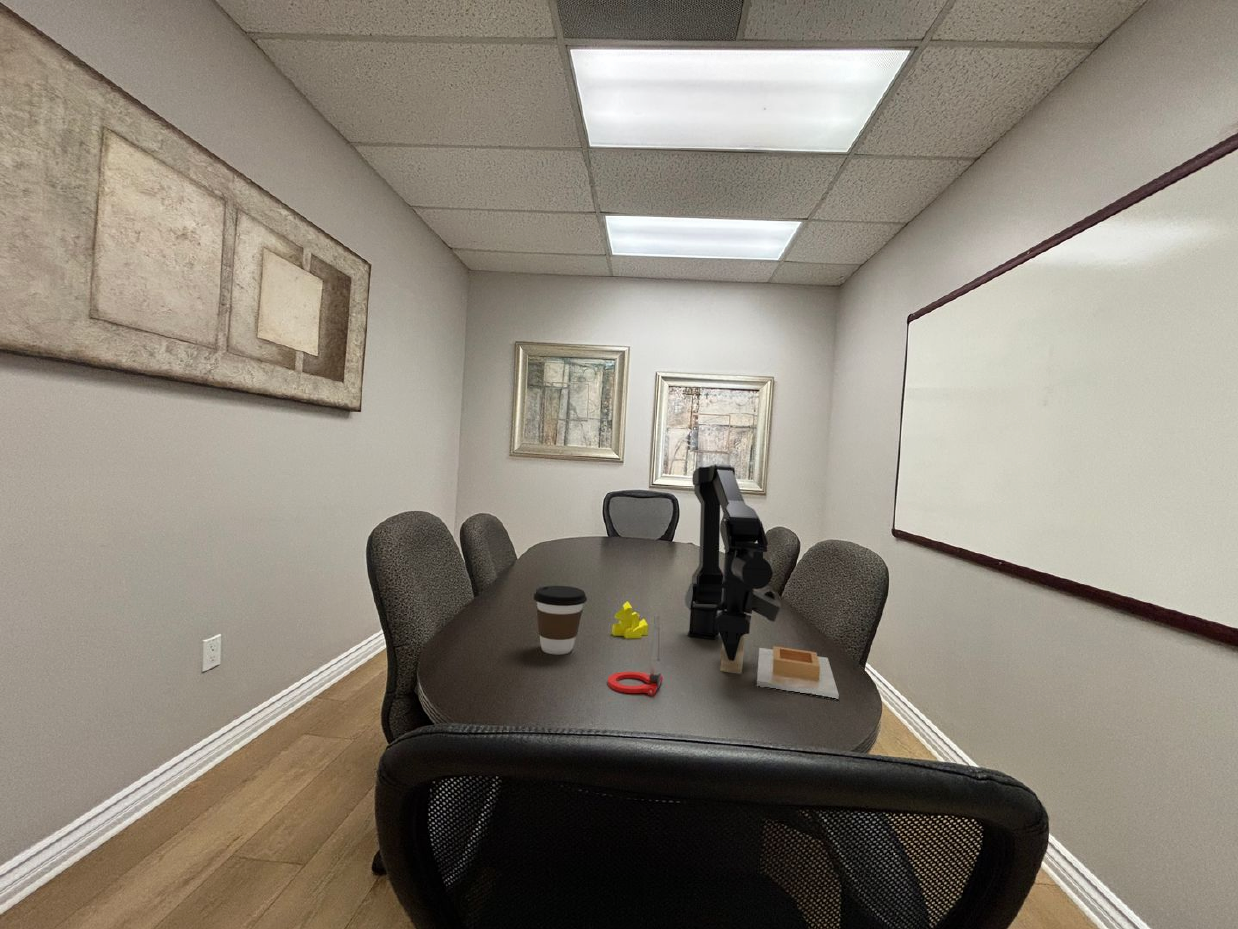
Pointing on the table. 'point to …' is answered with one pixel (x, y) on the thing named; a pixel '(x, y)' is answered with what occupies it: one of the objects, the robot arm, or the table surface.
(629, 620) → the yellow blocky cluster
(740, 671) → the cream upright block
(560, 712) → the table surface
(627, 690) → the tow hook
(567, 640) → the coffee cup
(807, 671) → the wooden socket on plate
